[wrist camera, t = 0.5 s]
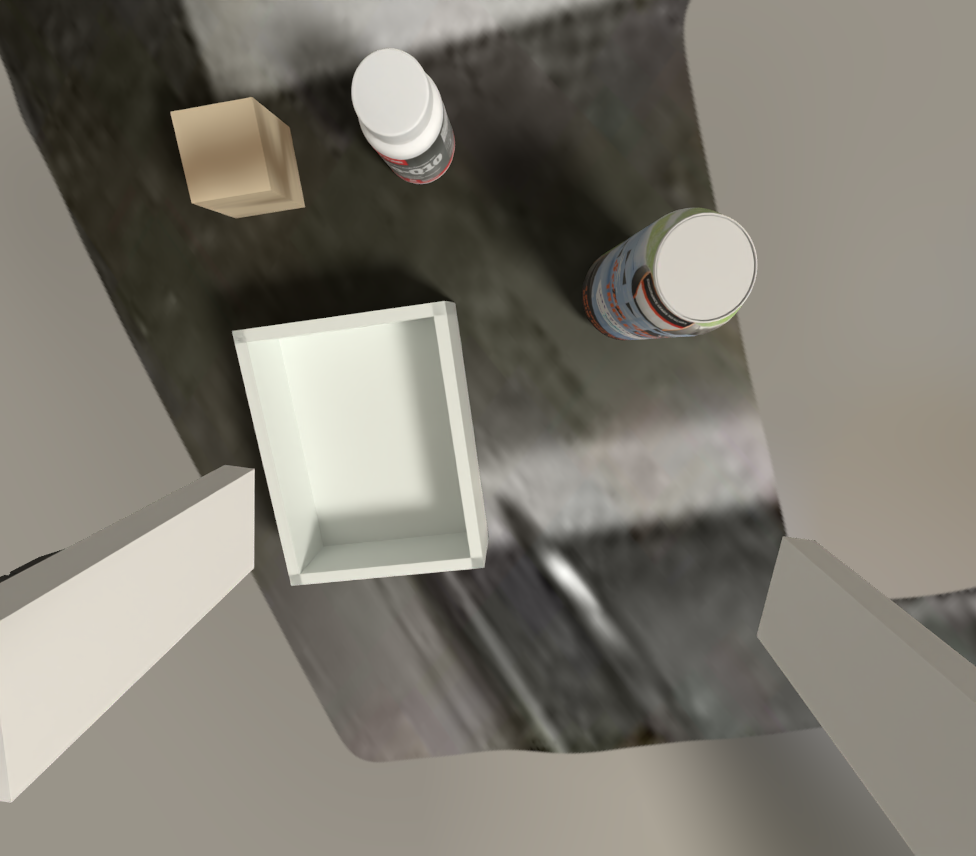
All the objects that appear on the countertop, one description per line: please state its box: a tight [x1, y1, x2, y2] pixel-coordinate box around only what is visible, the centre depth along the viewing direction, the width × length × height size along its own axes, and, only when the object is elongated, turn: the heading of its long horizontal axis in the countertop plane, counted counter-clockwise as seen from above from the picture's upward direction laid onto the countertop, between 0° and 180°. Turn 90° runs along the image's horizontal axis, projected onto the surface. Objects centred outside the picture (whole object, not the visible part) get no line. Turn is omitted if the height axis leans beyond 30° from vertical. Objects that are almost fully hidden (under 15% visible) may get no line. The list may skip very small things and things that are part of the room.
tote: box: [232, 301, 489, 586], centre depth 36 cm, size 18×14×5 cm
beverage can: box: [582, 208, 757, 340], centre depth 29 cm, size 6×7×12 cm
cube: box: [170, 97, 305, 218], centre depth 33 cm, size 5×5×5 cm
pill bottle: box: [351, 48, 455, 184], centre depth 30 cm, size 5×5×8 cm
